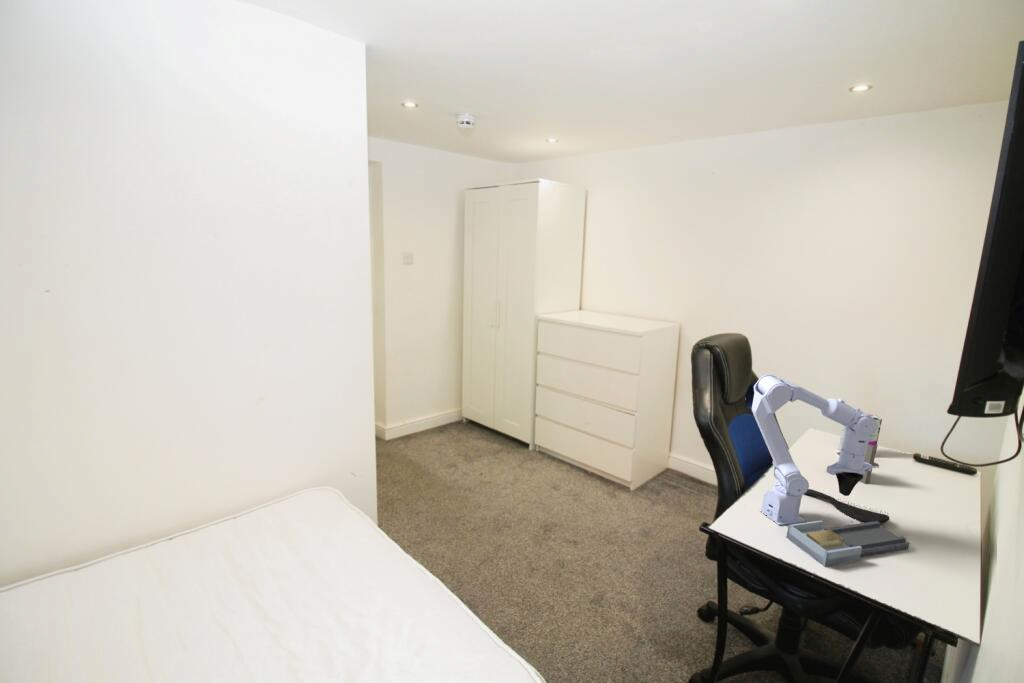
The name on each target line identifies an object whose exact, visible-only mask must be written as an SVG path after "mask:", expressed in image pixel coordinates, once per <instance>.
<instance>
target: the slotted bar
mask: <svg viewBox="0 0 1024 683" xmlns="http://www.w3.org/2000/svg"><path fill="white" fill-rule="evenodd" d="M881 524H882V523H880V522H878V521H874V522H866V523H863V522H860V523H854V524H853V523H852V524H848V525H847V524H845V525H839V526H833V527H826V528H823V529H824V530H831V531H833V532H834V533H836V534H837V535H839V536H840V537H842V538H843V539H844V541H843V543H845V544H846V545H848V546H849V547H856V546H861V547H862V550H861V555H860V558H865V557H871V556H876V555H882V554H888V553H889V554H890V553H894V552H895V553H896V552H899V551H900V552H901V551H905V550H909V548H910V542H909V541H908V540H907V537H905V536H904V535H900V536H899V535H897V534H895V533H893V532H892V531H890V530H888V529H887V528H885V527H884V526H882V525H881Z"/></svg>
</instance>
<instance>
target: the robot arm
mask: <svg viewBox="0 0 1024 683" xmlns="http://www.w3.org/2000/svg"><path fill="white" fill-rule="evenodd" d="M753 393H754V394H753V399H752V405H751V413H752V414H753V417H754V419H755V421H756V423H757V426H758V428H759V430H760V432H761V435H762V438H763V440H764V442H765V445H766V447H767V449H768V451H769V454H770V456H771V458H772V465H773V471H772V473H773V476H774V478H775V483H774V486H773V487H772V488H771V489H768V490H766V491H765V493H764V494H763V500H762V504H761V505H762V507H761V508H759V509H758V510H759V511H760V512H761V511H762V512H763V513H764V514H763V513H762V512H761V513H762V514H763V515H765V516H766V515H767V516H766V517H768V518H769V519H770V520H771V521H773V522H774V521H775V523H776V524H777V525H778V526H783V525H791V524H798V523H806V522H805V521H806V520H805V519H804V518H803V517H801V516H800V515H799V514H800V513H799V512H800V508H801V502H802V499H803V495H805V494H804V493H806V492H807V490H808V489H810V488H809V487H810V483H809V481H808V479H807V478H806V477H804V476H803V475H802V474H801V472H800V469H799V468H798V466H797V465H796V463H795V461H794V459H793V456H792V455H791V453H790V451H789V448H788V445H787V444H786V441H785V439H784V436H783V434H782V431H781V428H780V427H779V424H778V422H777V419H776V418H775V413H776V412H777V411H779V409H781V408H782V407H783V406H784V405H786V404H787V403H788V402H791V403H794V402H795V401H801V402H803V403H805V404H808V405H810V406H812V407H814V408H817V409H819V410H820V411H821V414H822V416H824V417H825V418H828V419H830V420H831V421H834V422H835V423H837V424H840V425H841V426H843V425H844V426H846V428H845V433H844V438H843V443H842V447H841V451H839V452H840V457H838V461H837V462H835V463H833V464H831V465H827V467H826V473H827V474H830V475H831V476H835V477H836V480H837V484H838V492H839V493H840V494H841V495H842V496H844V497H848V496H850V494H851V493H852V492H853V489H855V486H857V484H858V483H860V482H859V481H860V480H861V479H863V475H862V474H865V470H867V471H871V470H872V471H873V468H872V466H873V465H871V464H869V463H867V462H864V459H865V455H866V450H867V446H868V441H869V439H870V436H871V435H872V434H873V433H874V432H875V431H876V430H877V426H876V422H875V420H874V418H872V417H871V416H869V415H867V414H868V413H865V412H864V411H863V410H861V408H858V407H857V406H855V407H853V406H851V405H849V404H847V403H846V401H845V400H843V399H841V398H835V397H834V398H833V397H831V398H828V399H825V398H823V397H822V396H820V395H817V394H816V393H814V392H811V390H808V389H806V388H804V387H803V386H800V385H798V384H796V383H794V382H791V381H789V380H786V379H784V378H781V377H779V378H778V377H776V376H775V375H773V374H764V375H762V376H761V377H759V379H757V382H755V384H754V385H753ZM847 426H848V427H847ZM849 427H850V428H849Z"/></svg>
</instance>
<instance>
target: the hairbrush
mask: <svg viewBox="0 0 1024 683" xmlns="http://www.w3.org/2000/svg"><path fill="white" fill-rule="evenodd" d="M803 495H808V496H814V497H818V498H820V499H824V500H826V501H829V502H830V504H832V506H834V507H835V508H836V510H837V511H838V510H839V512H840V513H841V512H842V514H843V513H844V514H843V515H845V516H847V517H848V516H849V518H850V517H851V519H853V520H855V519H856V520H855V521H858V522H860V523H866V522H874V521H878V522H880V523H881V524H883V523H888V522H889V521H890V515H889V514H886V513H887V512H886V511H883V512H882V510H874V511H873V510H872V509H871V507H869V509H868V508H866V507H863V508H862V507H860V506H858V504H857V505H856V504H855V505H856V506H855V505H852V504H853V503H850V501H847V503H846V502H844V501H840V500H842V499H841V498H834V496H831V495H828V494H825V493H823V492H821V491H818V490H814V489H813V488H808V490H807V492H806V493H804V494H803Z"/></svg>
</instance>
